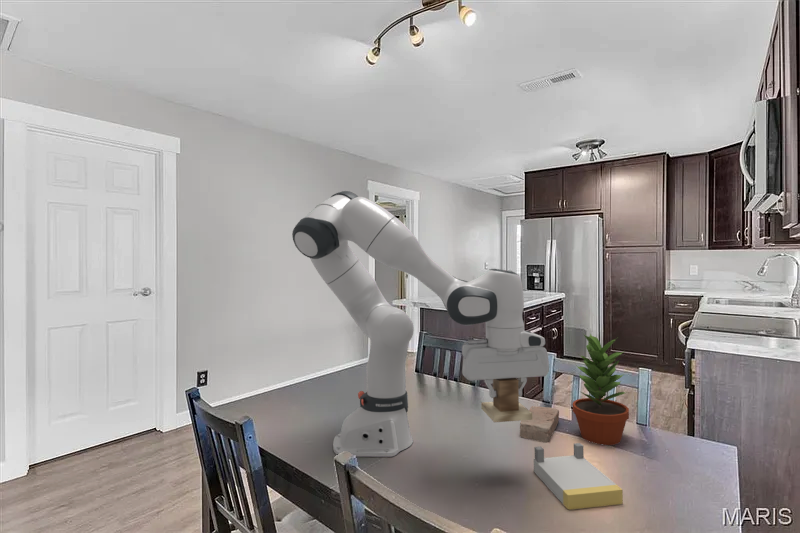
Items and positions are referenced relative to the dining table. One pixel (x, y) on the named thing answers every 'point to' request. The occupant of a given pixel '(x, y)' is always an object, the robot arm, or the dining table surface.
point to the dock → (576, 480)
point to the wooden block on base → (506, 403)
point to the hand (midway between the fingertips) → (505, 396)
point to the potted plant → (600, 397)
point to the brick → (540, 424)
